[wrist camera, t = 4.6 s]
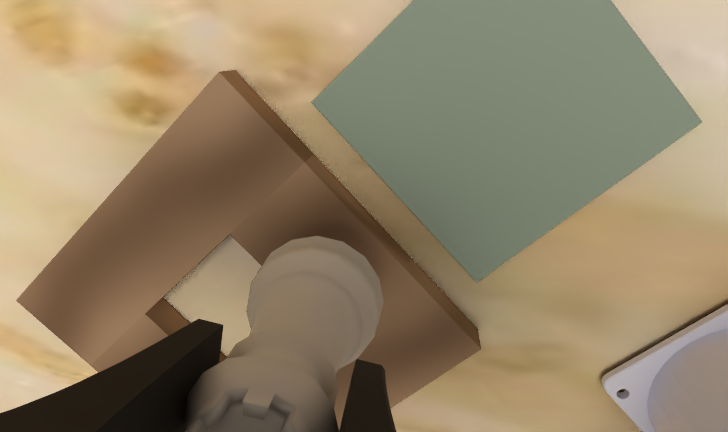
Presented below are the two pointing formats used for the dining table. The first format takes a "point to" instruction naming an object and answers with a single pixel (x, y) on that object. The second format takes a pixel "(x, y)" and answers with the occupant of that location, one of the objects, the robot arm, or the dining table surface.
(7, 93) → the dining table surface
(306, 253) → the rook chess piece
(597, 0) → the rubber mat
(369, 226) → the socket board
